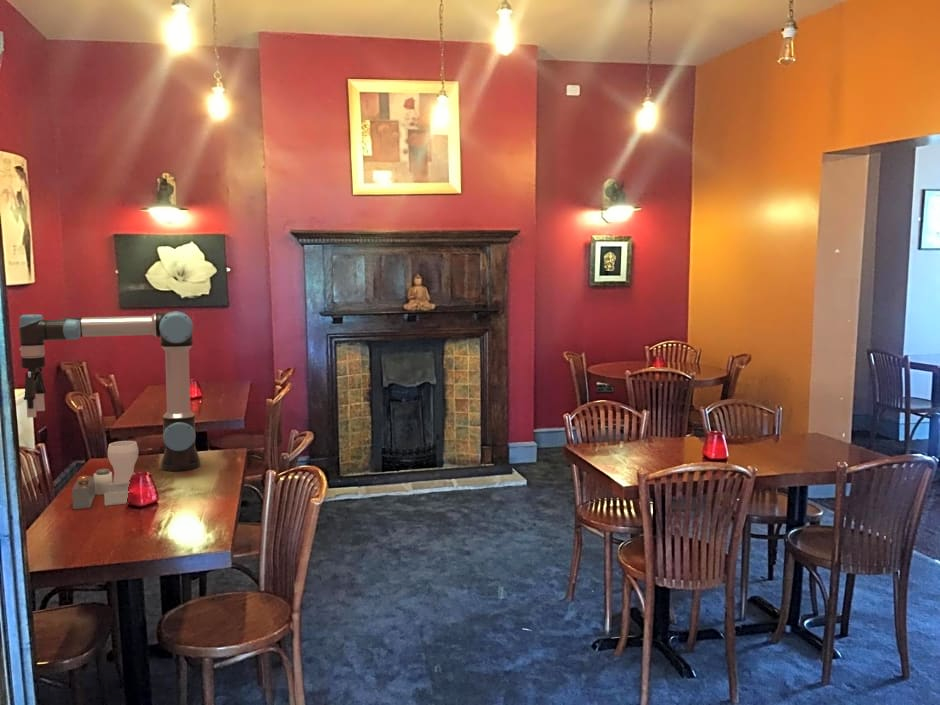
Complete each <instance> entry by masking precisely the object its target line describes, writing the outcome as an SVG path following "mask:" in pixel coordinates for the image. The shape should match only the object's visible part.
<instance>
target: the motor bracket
mask: <svg viewBox="0 0 940 705" xmlns="http://www.w3.org/2000/svg"><path fill="white" fill-rule="evenodd" d="M129 484H130V482H122V483H111V484H108V492H107V493H104V494H103V496H104V506H107V507H108V506H115V505H117V506H118V505H124V504H126V503H127V498H128V493H129V491H128V487H129ZM71 494H72V495H71V497H72V510H81V509H90V508H91V506H92V503H93V501H94V499H95V496H96V494H95V481H94V475H92V476H90V475H80V476H78V478H77V480H76V481H75V483H74V485H73V486H72V489H71ZM127 504H128V503H127ZM127 504H126V505H127Z"/></svg>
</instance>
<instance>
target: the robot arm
mask: <svg viewBox="0 0 940 705" xmlns="http://www.w3.org/2000/svg"><path fill="white" fill-rule="evenodd" d="M18 320H19V322H18V323H19V326H18V331H19V343H20V347H19V348H18V351H20V356H21V359H20V362H21V368H22V369H28V370H27V371H25V384H24V385H25V386H24V397H23V400H24V401H26V417H27V418H37V412H45V410H46V404H45V394H47V390H46V387H45V381H44V376H43V371H42V370H43V369H42V368H45V367H46V358H45V357H44V356H45V355H46V350H45V349H46V348H45V341H64V340H65V341H72V340H73V341H74V340H78V339H80V338H83V337H85V338H86V337H88V338H89V337H119V336H122V337H123V336H125V337H126V336H151V335H152V336H154V337H155V338H160V348H162V349H163V350H164V351H165V352H164V354H165V355H164V357H165V358H164V359H165V386H166V387H165V388H166V389H165V390H166V392H165V394H166V412H165V413H164V414H163V415H162V429H163V430H162V432H163V433H162V441H163V443H164V452H163V456H162V459H161V462H160V469H161V470H162V471H166V472H183V471H190V470H194V469H197V468H199V467H201V458H200V456H199V453H198V451H197V448H196V438H197V434H196V424H195V423H196V418H195V417H196V416H195V415H196V414H195V413H194V412H193V411H192V410H191V388H190V387H191V384H190V382H191V381H190V379H191V378H190V377H191V376H190V354H189V353H190V350H191V348H192V347H193V345H194V344H193V343H194V340H193V338H194V337H193V333H194V332H193V330H194V324H193V321H192V319H191V317H190V316H189V315H188V314H187V313H186V312H184V311H181V310H172V311H166V312H158V313H157V312H155V313H153V314H152V315H132V316H131V315H130V316H127V315H126V316H92V317H91V316H88V317H86V316H85V317H84V316H83V317H70V316H69V317H62V318H60V319H44V316H43V315H42V314H22V315H20V316H19V319H18Z"/></svg>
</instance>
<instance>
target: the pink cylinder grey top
mask: <svg viewBox="0 0 940 705" xmlns="http://www.w3.org/2000/svg"><path fill="white" fill-rule="evenodd" d="M93 476H94V481H95V495H99V496H100V495H101V496H102V495H103V496H104V493H107V492H108V484H111V483H113V472H112V471H110V469H109V468H99V469H97V470H95V472H94V473H93Z"/></svg>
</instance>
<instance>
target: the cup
mask: <svg viewBox="0 0 940 705" xmlns="http://www.w3.org/2000/svg"><path fill="white" fill-rule="evenodd" d="M107 458H108V461H109V463H110V465H111V466H112V468H113V474H114V475H113V479H112V482H113V483H122V482H129V480H130V478H131V476H132V474H134V475H135V472H134V471H135V464H136V462H137V460H138V458H139V446H138V444H137V441H135V440H134V441H133V440H121V441H119V440H118V441H114V442H111V443H109V444H108V448H107Z"/></svg>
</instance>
